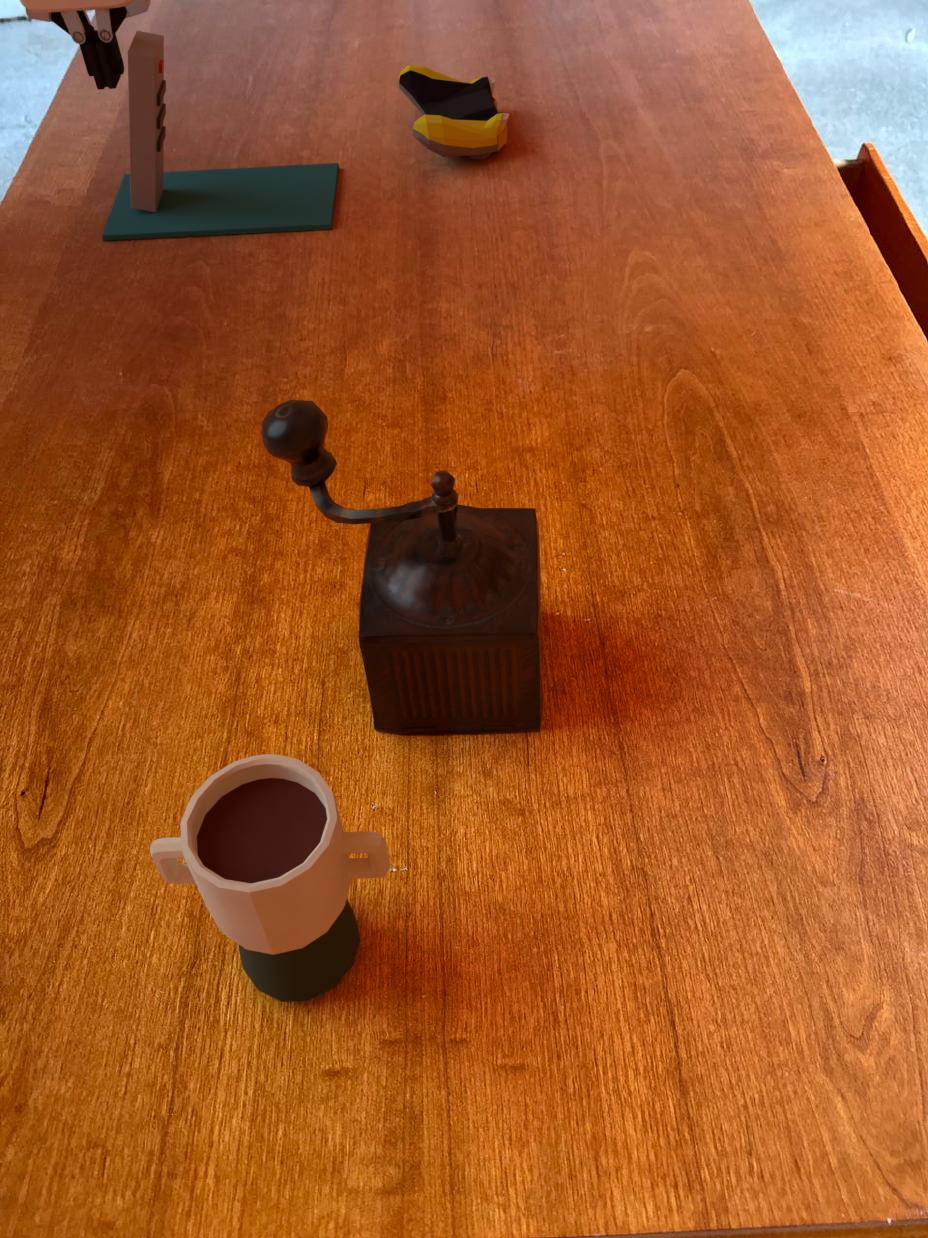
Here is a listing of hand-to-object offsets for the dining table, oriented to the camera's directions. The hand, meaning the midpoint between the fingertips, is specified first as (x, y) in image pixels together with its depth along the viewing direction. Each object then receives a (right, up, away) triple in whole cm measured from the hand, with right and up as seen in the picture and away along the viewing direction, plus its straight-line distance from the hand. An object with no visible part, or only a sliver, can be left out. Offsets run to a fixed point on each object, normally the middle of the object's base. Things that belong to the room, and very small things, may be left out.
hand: (109, 82), depth 104 cm
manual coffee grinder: (+30, -52, -31) cm, 67 cm away
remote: (+1, -7, +9) cm, 11 cm away
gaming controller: (+31, +1, +16) cm, 35 cm away
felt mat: (+9, -8, +9) cm, 15 cm away
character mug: (+24, -66, -44) cm, 83 cm away
